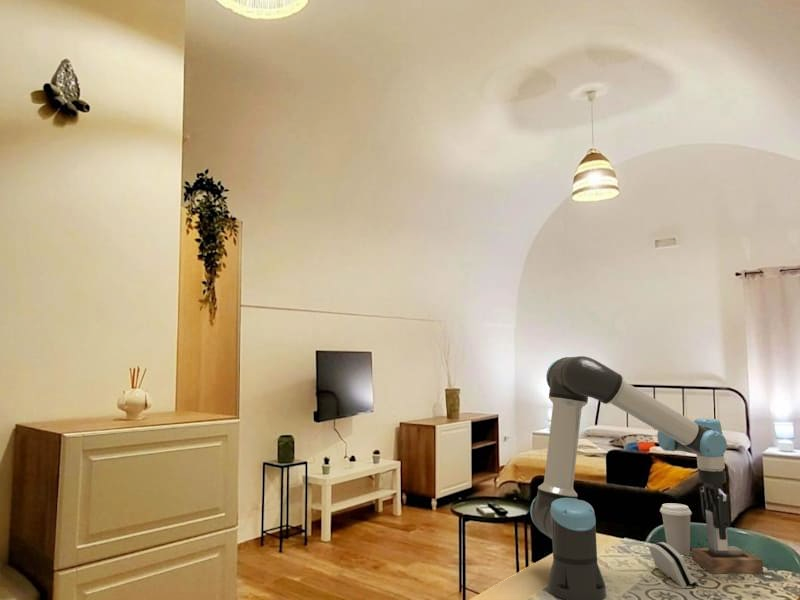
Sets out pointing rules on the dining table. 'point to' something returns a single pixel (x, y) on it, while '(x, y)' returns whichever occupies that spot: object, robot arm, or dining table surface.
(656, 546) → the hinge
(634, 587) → the dining table surface
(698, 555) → the frame
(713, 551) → the bracket
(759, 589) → the dining table surface
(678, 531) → the coffee cup
